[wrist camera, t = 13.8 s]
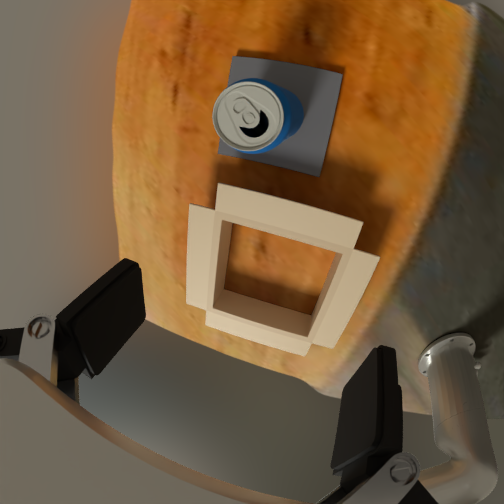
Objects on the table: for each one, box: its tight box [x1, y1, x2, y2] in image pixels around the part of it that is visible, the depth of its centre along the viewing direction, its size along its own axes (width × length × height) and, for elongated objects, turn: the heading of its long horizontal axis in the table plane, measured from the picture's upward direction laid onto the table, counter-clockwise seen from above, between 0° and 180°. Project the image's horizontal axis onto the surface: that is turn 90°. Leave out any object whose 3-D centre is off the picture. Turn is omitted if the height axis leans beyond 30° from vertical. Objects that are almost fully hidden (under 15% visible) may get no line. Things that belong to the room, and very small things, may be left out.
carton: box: [186, 183, 380, 356], centre depth 38 cm, size 24×24×5 cm
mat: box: [218, 56, 343, 177], centre depth 29 cm, size 13×13×1 cm
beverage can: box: [213, 78, 304, 154], centre depth 24 cm, size 6×6×12 cm
